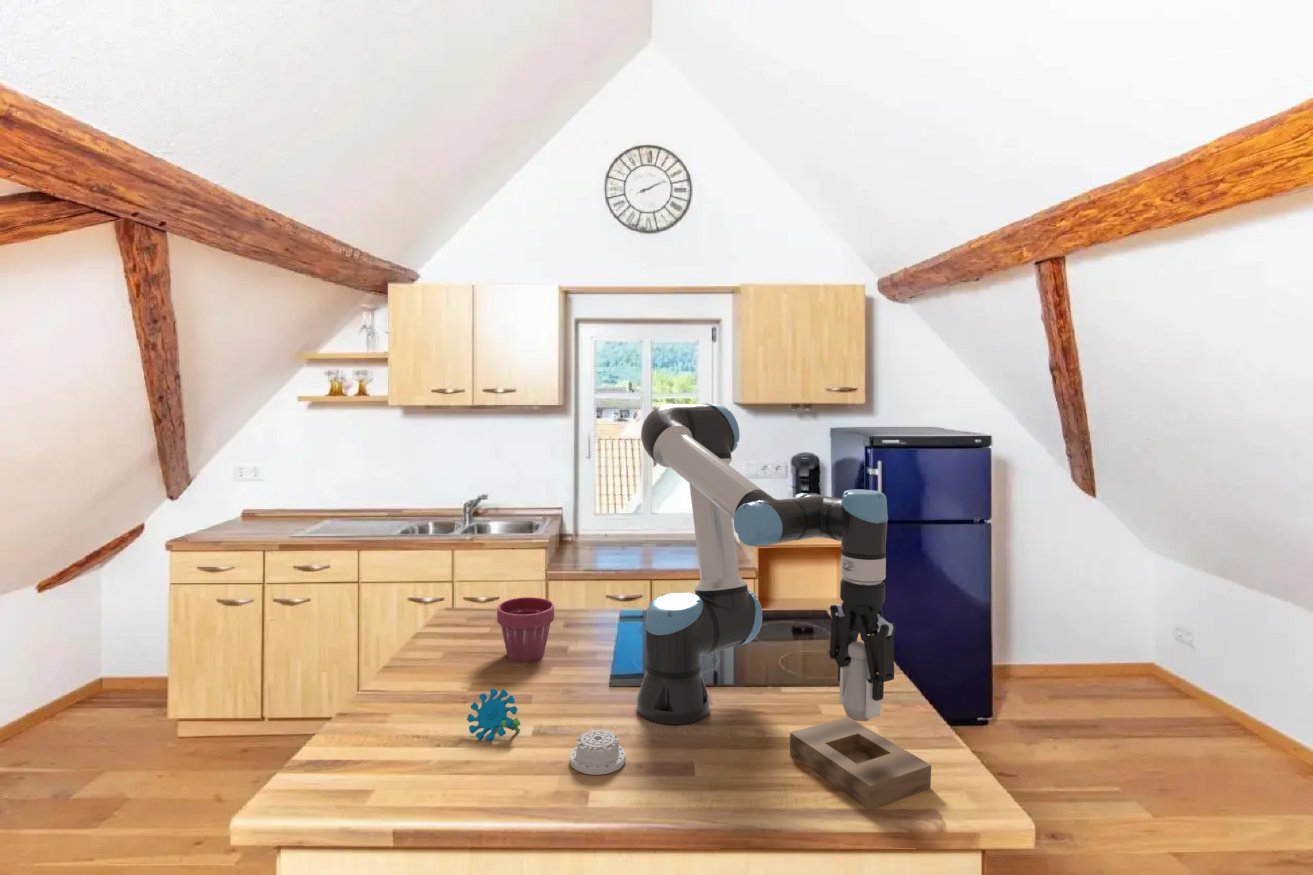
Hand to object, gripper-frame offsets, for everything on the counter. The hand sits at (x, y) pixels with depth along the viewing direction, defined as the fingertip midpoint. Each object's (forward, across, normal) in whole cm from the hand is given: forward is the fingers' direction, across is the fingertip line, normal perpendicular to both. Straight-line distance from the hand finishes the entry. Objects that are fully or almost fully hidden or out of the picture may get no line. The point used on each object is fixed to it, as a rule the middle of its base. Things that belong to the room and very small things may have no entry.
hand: (859, 708), depth 125 cm
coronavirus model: (+11, -43, -53) cm, 69 cm away
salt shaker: (+2, 0, 0) cm, 2 cm away
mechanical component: (+12, -24, -40) cm, 48 cm away
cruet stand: (+11, 0, 0) cm, 11 cm away
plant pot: (+11, -79, -35) cm, 87 cm away
